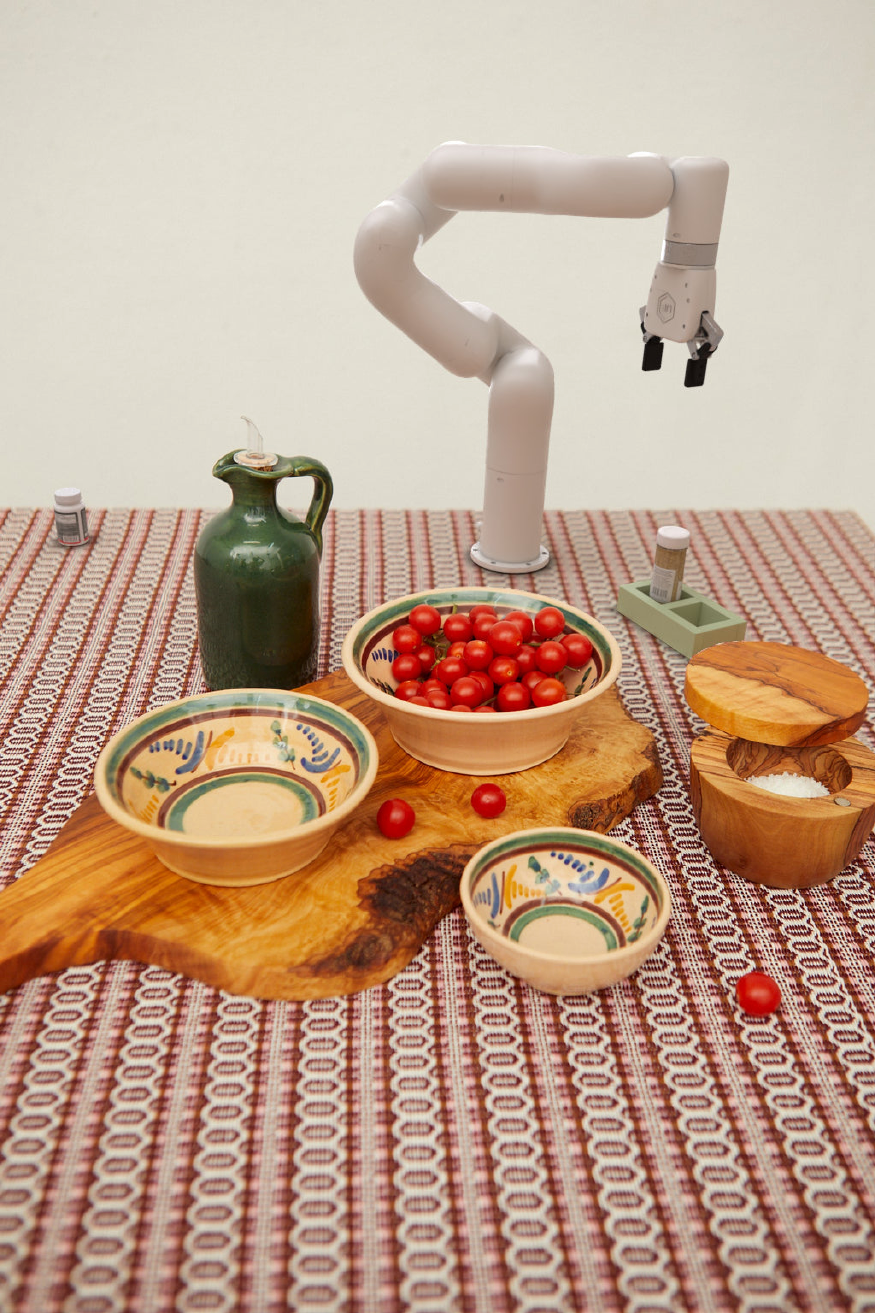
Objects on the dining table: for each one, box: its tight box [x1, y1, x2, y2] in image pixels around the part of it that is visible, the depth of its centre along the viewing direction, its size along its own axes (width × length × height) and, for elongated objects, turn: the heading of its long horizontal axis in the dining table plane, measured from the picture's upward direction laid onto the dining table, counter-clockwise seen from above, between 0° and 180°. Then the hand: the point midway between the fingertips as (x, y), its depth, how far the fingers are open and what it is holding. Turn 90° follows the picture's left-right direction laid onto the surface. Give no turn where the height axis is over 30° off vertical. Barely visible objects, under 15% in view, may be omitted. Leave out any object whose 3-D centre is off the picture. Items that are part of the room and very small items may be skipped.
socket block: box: [616, 578, 748, 660], centre depth 155 cm, size 9×17×4 cm, turn 28°
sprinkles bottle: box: [650, 525, 691, 605], centre depth 156 cm, size 5×5×14 cm
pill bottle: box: [53, 487, 90, 547], centre depth 173 cm, size 5×5×8 cm
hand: (671, 378), depth 160 cm, fingers open, 9 cm apart
